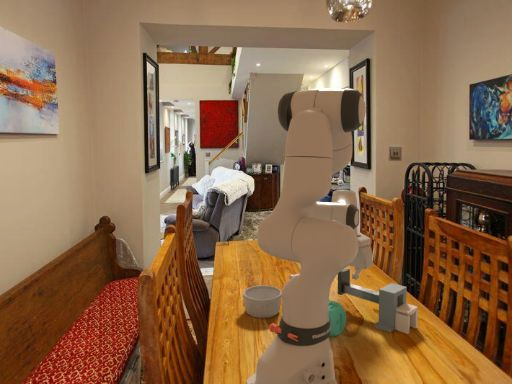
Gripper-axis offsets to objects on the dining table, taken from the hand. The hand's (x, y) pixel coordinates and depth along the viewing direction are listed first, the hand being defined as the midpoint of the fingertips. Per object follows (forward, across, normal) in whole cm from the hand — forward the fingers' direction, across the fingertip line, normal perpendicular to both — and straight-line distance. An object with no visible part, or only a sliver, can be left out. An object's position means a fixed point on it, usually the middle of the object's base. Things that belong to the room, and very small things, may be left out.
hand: (343, 275), depth 132 cm
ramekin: (+11, -17, -23) cm, 31 cm away
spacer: (+11, +23, 0) cm, 25 cm away
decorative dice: (+11, +7, -18) cm, 22 cm away
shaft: (+6, +9, 0) cm, 11 cm away
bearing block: (+11, +18, 0) cm, 21 cm away
